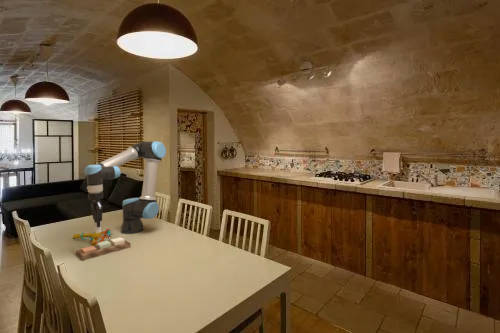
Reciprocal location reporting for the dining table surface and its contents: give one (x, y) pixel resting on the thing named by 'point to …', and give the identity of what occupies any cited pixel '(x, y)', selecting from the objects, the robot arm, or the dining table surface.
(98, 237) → the toy gun
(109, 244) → the tile sage
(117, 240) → the tile cream
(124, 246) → the board
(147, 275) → the dining table surface
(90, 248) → the tile terracotta
